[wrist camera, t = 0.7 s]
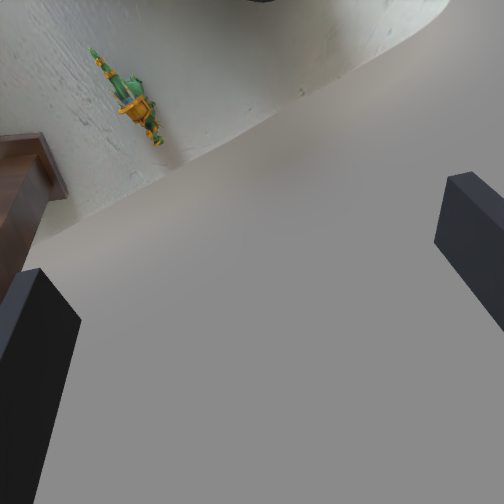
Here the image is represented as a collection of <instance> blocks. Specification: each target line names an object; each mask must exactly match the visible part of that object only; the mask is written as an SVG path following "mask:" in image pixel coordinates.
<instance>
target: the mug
mask: <svg viewBox="0 0 504 504" xmlns="http://www.w3.org/2000/svg"><path fill="white" fill-rule="evenodd" d="M248 1H252V2H261V3H263V2H270V1H274V0H248Z"/></svg>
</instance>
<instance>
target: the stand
mask: <svg viewBox="0 0 504 504" xmlns="http://www.w3.org/2000/svg"><path fill="white" fill-rule="evenodd" d="M67 196H68V191H67V189H66V186H65V184H64V182H63V179H62V177H61V175H60V173H59V170H58V168H57V166H56V164H55V161H54V159H53V157H52V155H51V152H50V150H49V148H48V146H47V143H46V141H45V139H44V136H43V134H42V132H40V133H30V134H20V135H9V136H0V306H1V304H2V302H3V300H4V298H5V296H6V294H7V292H8V290H9V288H10V285H11V283H12V281H13V279H14V277H15V275H16V273H19V272H21V270H22V268H23V265H24V263H25V260H26V257H27V255H28V252H29V250H30V247H31V244H32V242H33V239H34V236H35V234H36V231H37V229H38V226H39V223H40V221H41V218H42V215H43V213H44V210H45V208H46V205H47V202H48V201H53V200H62V199H67Z"/></svg>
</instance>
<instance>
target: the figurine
mask: <svg viewBox="0 0 504 504" xmlns="http://www.w3.org/2000/svg"><path fill="white" fill-rule="evenodd" d="M89 50H90V52H91V54H92V56H93V57H94V58H95V61H96V64H97V65H98V66H100V67H101V68H102V70H103V71H104V74H105V76H106V78H107V79H109V80H110V82H111V83H112V84H113V86H114V88H115V93H114V92H112V91H110V90H109V91H110V92H111V93H112V94H113V96H114V97H115V99H116V100H117V101H118V103H119V105H120V106H121V109H120V110H118V112H119V114H124V113H126V114H127V115H128V116H129V117H130V118H131V119H132V120H133V122H134V123H140V124H141V126H142V127H145V128H146V129H147V131H146V135H147V137H149V138H150V139H151V140H153V141H154V144H153V145H154V146H157V145H161V144H163V143H164V140H163V139H162V137H161V136H157V133H158V131H157V130H158V128H159V127H158V125H161V126H162V127H163V125H162V124H161V123H160V122H158V121H157V120H156V119H155V111H154V109H153V107H154V106H153V104H154V105H156V103H154V102H151V101H150V100H149V99H148V98H147V97H145V96H144V92H143V88H142V86H141V84H140V83H142V81H141V80H139V79H138V78H135V77H134V76H133V75H131V77H130V79H131V82H125V81H124V80H122V79H121V78H120V77H119V76H118V75H117V74H116V72H115V71H114V70H112V69H111V68H110V67H109V66H108V65H107V64H106V63H105V62H104V60H103V59H102V58H100V57H99V56H98V54H97V53H96V52H95V51H94V50H92V49H91V48H89ZM138 81H139V82H140V83H139V82H138ZM152 103H153V104H152ZM163 128H164V127H163Z"/></svg>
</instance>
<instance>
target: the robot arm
mask: <svg viewBox="0 0 504 504" xmlns="http://www.w3.org/2000/svg"><path fill="white" fill-rule="evenodd" d="M434 243H435V244H436V246H437V247H438V248H439V250H440V251H441V252H442V254H444V256H445V257H446V259H448V261H449V262H450V264H451V265H452V266H453V268H454V269H455V270H456V271H457V273H458V274H459V275H460V276H461V278H462V279H463V280H464V282H465V283H466V284H467V285H468V287H469V288H470V289H471V291H472V292H473V293H474V294H475V296H476V297H477V298H478V300H479V301H480V302H481V303H482V305H483V306H484V307H485V308H486V310H487V311H488V312H489V314H490V315H491V316H492V317H493V319H494V320H495V321H496V322H497V324H498V325H499V326H500V328H501V329H502V330H503V331H504V198H502V197H501V196H500V195H499V194H498V193H497V192H495V191H494V190H493V189H492V188H491V187H490V186H488V185H487V184H486V183H485V182H484V181H482V180H481V179H480V178H479V177H478V176H477V175H476V174H474V173H473V172H467V173H463V174H458V175H454V176H449V177H448V178H447V183H446V187H445V192H444V197H443V202H442V206H441V211H440V217H439V220H438V225H437V230H436V234H435V239H434ZM80 324H81V319H80V317H79V316H78V315H77V314H76V312H75V311H74V310H73V309H72V307H71V306H70V305H69V304H68V302H67V301H66V300H65V299H64V297H63V296H62V295H61V293H60V292H59V291H58V290H57V288H56V287H55V286H54V285H53V284H52V282H51V281H50V280H49V278H48V277H47V276H46V275H45V273H44V272H43V271H42V270H41V268H37V269H32V270H28V271H23V272H19V273H16V275H15V277H14V279H13V281H12V283H11V285H10V288H9V290H8V292H7V294H6V296H5V298H4V300H3V302H2V304H1V306H0V504H33V502H34V499H35V495H36V491H37V487H38V484H39V480H40V476H41V472H42V468H43V465H44V461H45V457H46V453H47V449H48V446H49V442H50V438H51V434H52V430H53V427H54V423H55V418H56V415H57V411H58V408H59V404H60V400H61V396H62V393H63V388H64V385H65V381H66V377H67V374H68V370H69V366H70V362H71V358H72V355H73V351H74V347H75V343H76V339H77V335H78V332H79V328H80Z"/></svg>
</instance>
